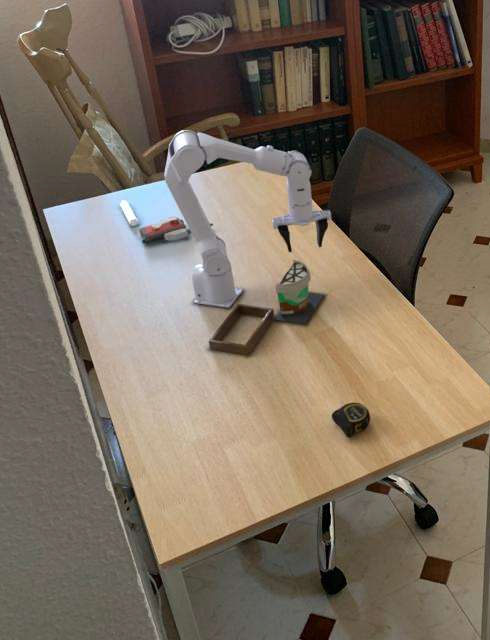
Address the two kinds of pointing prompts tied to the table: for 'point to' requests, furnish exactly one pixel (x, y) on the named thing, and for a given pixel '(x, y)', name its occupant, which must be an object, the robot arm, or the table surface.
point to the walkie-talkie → (164, 231)
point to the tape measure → (352, 418)
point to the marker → (129, 213)
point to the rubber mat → (304, 316)
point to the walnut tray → (239, 309)
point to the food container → (294, 290)
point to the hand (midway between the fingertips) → (304, 247)
